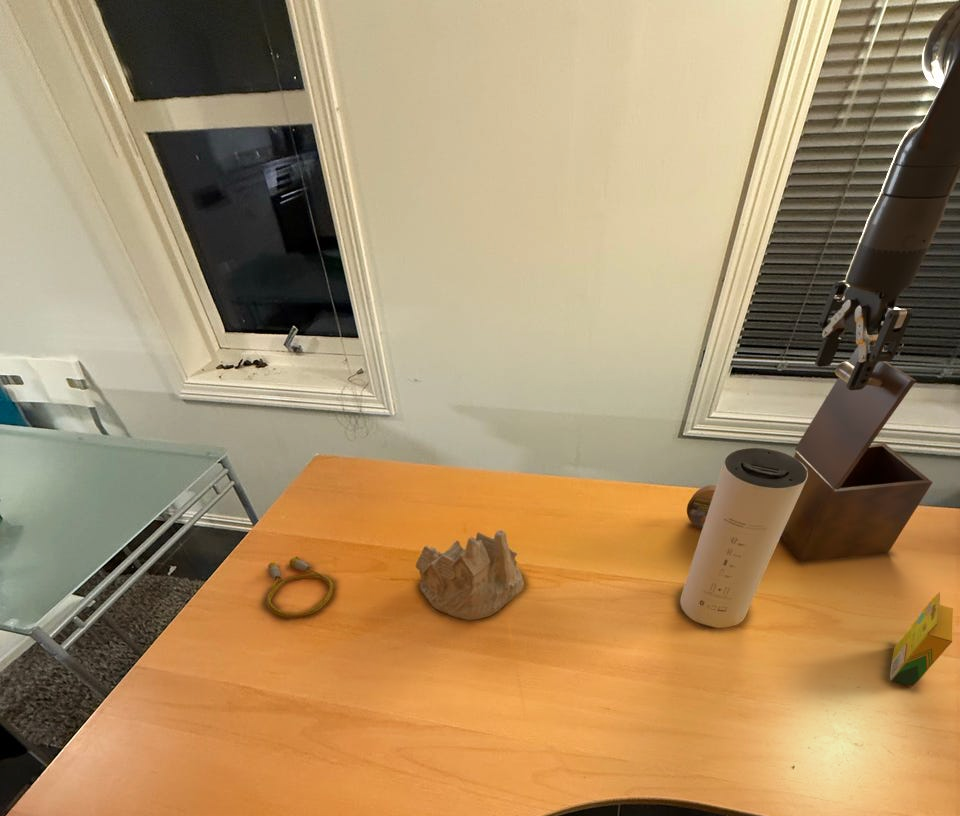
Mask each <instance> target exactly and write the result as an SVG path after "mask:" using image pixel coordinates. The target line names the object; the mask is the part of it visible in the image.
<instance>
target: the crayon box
mask: <svg viewBox="0 0 960 816" xmlns="http://www.w3.org/2000/svg"><path fill="white" fill-rule="evenodd" d="M940 600H941V592H940V591H939V592H938V593H937V594H936V595H935V596H933V598H931V600H929V602H928V603H927V605H926V606H925V607H924V608H923V610H922V611H921V613H920V614H919V615H918V616H917V618H916V619H915V621H913V623H912V624H911V625H910V627H909V628H908V629H907V631H906V632H905V633H904V634H903V635H902V637H901V639H900V640H899V641H898V642H897V644H895V647H894V648H893V651H892V658H891V665H890V672H889V681H891V682H894V683H896V684H899V685H901V686H906V687H908V688H913V687H914V686H915V685H916V684H917V683H918V681H920V679H921V678H922V677H923V676H924V675H925V673H926V672H928V670H929V669H930V668H931V667H932V666H933V664H935V662H936V661H937V660H938V659H939V658H940V656H941V655H943V653H944V652H945V651H946V650H947V649H948V647H949V646H950V645H951V644H952V643H953V629H954V628H953V627H954V625H953V624H954V623H953V622H954V608H953V607H951V606H947V605H943V604H940Z"/></svg>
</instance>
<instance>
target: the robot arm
mask: <svg viewBox="0 0 960 816" xmlns="http://www.w3.org/2000/svg"><path fill="white" fill-rule="evenodd" d="M921 66H922V71H923V74H924V76H925V78H926V79H927V81H928V82H929V83H930V84H932V85H933V86H934V87H936V88H939V89H938V91H937V93H936V95H935V97H934V99H933V101H932V103H931V104H930V107H929V109H928V110H927V113H926V114H925V116H924V119H923V120H922V122H921V123H918V124H916V125H915V126H913V127H911V128H910V129H909V130H908V131H906V133H905V134H904V136H903V138H902V140H901V141H900V143H899V145H898V148H897V149H896V152H895V154H894V157H893V160H892V162H891V164H890V167H889V170H888V172H887V174H886V177H885V180H884V183H883V185H882V188H881V191H880V192H879V195H878V197H877V200H876V202H875V204H874V205H873V208H872V209H871V211H870V213H869V216H868V218H867V220H866V223H865V226H864V228H863V231H862V235H861V236H860V238H859V242H858V244H857V247H856V250H855V252H854V254H853V258H852V259H851V263H850V265H849V268H848V269H847V273H846V275H845V280H840V281H834V283H833V285H832V288H831V289H830V293H829V294H828V298H827V300H826V302H825V304H824V307H823V310H822V313H821V315H820V317H819V320H818V322H817V328H818V329H819V330H820V329H822V335H821V336H822V342H821V344H820V347H819V349H818V352H817V354H816V358H815V362H814V365H815V366H817V367H819V368H822V367H829V366H831V365H832V363H833V361H834V358H835V357H836V353H837V351H838V349H839V346H840V344H841V341H842V338H841V336H843V335H844V334H845V333H846V332H848V330H850V331H851V333H852V334H854V335H855V344H856V345H857V346H859V361H857V363H856V365H855V367H854V370H853V372H852V374H851V377H850V379H849V381H848V383H847V386H846V387H847V388H848V389H849V390H861V389H863V388H864V387H865V386H866V384H867V383H868V381H869V379H870V377H871V374H872V372H873V370H874V368H875V366H876V364H877V363H878V362H883V361H886V362H891V361H893V359H894V358H895V355H896V353H897V352H898V351H897V350H898V349H899V347H900V344H901V342H902V340H903V337H904V335H905V332H906V330H907V328H908V325H909V323H910V321H911V319H912V317H913V314H914V310H913V308H899V307H897V303H898V300H899V296H900V295H901V293H902V292H904V291H905V290H906V289H908V288H909V287H911V285H912V284H913V282H914V280H915V279H916V276H917V274H918V271H919V269H920V268H921V265H922V263H923V261H924V259H925V257H926V254H927V252H928V250H929V248H930V246H931V244H932V241H933V239H934V237H935V235H936V234H937V233H936V232H937V230H938V228H939V226H940V224H941V222H942V219H943V217H944V214H945V211H946V208H947V205H948V202H949V199H950V197H951V194H952V192H953V190H954V188H955V186H956V184H957V181H958V179H959V177H960V0H957V1H955V3H953V4H952V5H951V6H950V7H949V8H948V9H947V10H946V11H944V13H943V14H942V15H941V17H939V19H938V20H937V22H936V23H935V24H934V26H933V27H932V29H931V30H930V33H929V35H928V36H927V39H926V42H925V44H924V47H923V51H922V57H921ZM833 311H834V313H833V316H832V317H830V315H831V313H832V312H833ZM875 331H877V333H875V334H872V333H874V332H875ZM887 343H888V345H887V348H886V350H885V345H886V344H887ZM871 344H872V345H873V347H872V350H871V352H869V351H870V345H871Z"/></svg>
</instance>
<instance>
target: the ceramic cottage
mask: <svg viewBox="0 0 960 816" xmlns="http://www.w3.org/2000/svg"><path fill="white" fill-rule="evenodd" d="M518 554H519V553H518V552H516V551H514V550H513V549H510V545H509V542H508V538H507V533H506V531H504V530H502V529H498V530H496V532H495V534H494V537H491V536H487V535H485V534H484V533H481V532H477V533H476V536H475V537H473V536H470V537H468V538H467V542H466V545H465V548H463V547H462V545H461V544H460V541H459V540H456V541H454V542H453V543H452V545H451V546H450V547H449V548H447V550H446V551H444V552H441V551H438V550H437V548H435V547H433V546H428V545H424V546H423V549H422V551H421V553H420V554H419V557H418V558H417V561H416V563H415V568H416V569H417V570H419V574H420V578H421V579H420V591H421V593H422V594H423V595H424V597H425V598H426V599H427V600H428V601H429V604H430V605H431V606H432V607H433V608H434V609H436V611H437V610H438V611H439V612H440V613H441V612H442V613H443V614H444V613H445V614H448V615H449V616H452V617H454V618H458V619H459V618H460V619H462V620H467V621H470V620H471V621H472V620H473V621H474V620H481V619H484V618H488V617H491V616H492V615H494V614H495V613H497V612H498V611H500V610H501V609H502V608H503V607H504V606H505V605H507V603H509V602H510V601H512V600H513V599H514V598H515V597H516V596H518V595H519V594H520V593H521V592H522V591H523V589H524V586H525V582H524V578H523V575H522V572H521V569H519V567H517V563H518V561H517V559H516V557H517V555H518Z"/></svg>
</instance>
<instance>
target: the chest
mask: <svg viewBox="0 0 960 816" xmlns="http://www.w3.org/2000/svg"><path fill="white" fill-rule="evenodd" d="M793 457H794V458H796V459H797V460H799V461H800V462H801V463H802V464H803V465H804V466H805V467H806V468H807V469H808V470H807V472H808V477H807V480H806V482H805V484H804V487H803V489H802V491H801V493H800V495H799V498H798V500H797V502H796V504H795V506H794V508H793V511H792V513H791V515H790V517H789V519H788V521H787V524H786V526H785V528H784V530H783V532H782V535H781V537H780V539H782V541H783V542H784V543H785V544H786V546H787V547H788V549H790V551H791V552H792V553H793V554H794V556H795V557H796V558H797V560H798V561H799V562H800V563H807V562H808V563H809V562H818V561H826V560H827V561H828V560H835V559H837V560H838V559H848V558H857V557H866V556H877V555H878V556H879V555H885V554H889V552H890V551H891V549H892V548H893V546H894V545H895V543H896V541H897V540H898V538H899V537H900V535H901V533H902V532H903V530H904V528H905V527H906V525H907V524H908V522H909V521H910V519H911V518H912V516H913V514H914V513H915V511H916V510H917V508H918V506H919V505H920V503H921V501H922V500H923V499H924V497H925V495H926V494H927V492H928V491H929V490H930V488H931V486H932V484H933V481H932V480H930V479H929V478H928V477H927V476H926V475H924V474H923V473H922V472H921V471H919V470H918V469H917V468H916V467H915V466H913V465H912V464H911V463H910V462H909V461H907V460H906V459H905V458H903V456H901V455H899V454H898V453H897V452H896V451H895V450H893V448H891V447H890V446H889V445H887V444H886V443H884V442H882V443H871V445H870V446H869V448H868V449H867V450H866V452H865V453H864V455H863V456H862V457H861V459H860V460H859V462H858V463H857V464H856V466H855V467H854V469H853V470H852V471H851V473H850V474H849V476H848V477H847V478H846V480H845V481H844V483H843V484H842V485H841V487H840V488H839V489H834V488H833V487H832V486H831V485H830V484H829V483H828V482H827V481H826V480H825V479H824V478H823V477H822V476H821V475H820V474H819V473H818V472H817V471H816V470H815V469H814V468H813V467H812V466H811V465H810V464H809V463H808V462H807V461H806V460H805V459H804V458H803V457H802V456H801V455H800V454H799V453H798V452H797V451H795V453H794V455H793Z"/></svg>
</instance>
